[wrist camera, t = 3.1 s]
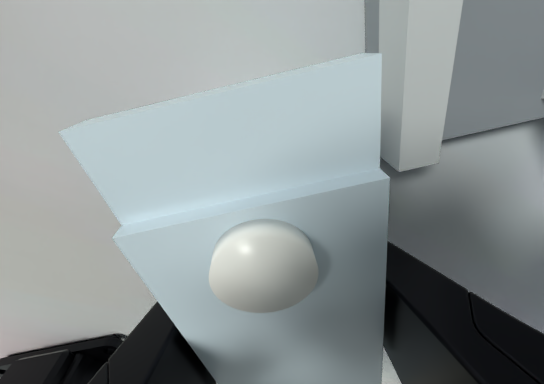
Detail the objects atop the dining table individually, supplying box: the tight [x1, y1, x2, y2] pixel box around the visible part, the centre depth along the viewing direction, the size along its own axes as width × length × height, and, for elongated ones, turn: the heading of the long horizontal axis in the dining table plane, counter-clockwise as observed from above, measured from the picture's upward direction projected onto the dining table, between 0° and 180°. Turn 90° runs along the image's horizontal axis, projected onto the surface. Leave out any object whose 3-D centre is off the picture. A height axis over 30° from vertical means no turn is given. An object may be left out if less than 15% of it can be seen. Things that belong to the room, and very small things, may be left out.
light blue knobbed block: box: [59, 53, 390, 384], centre depth 7 cm, size 10×4×5 cm, turn 12°
